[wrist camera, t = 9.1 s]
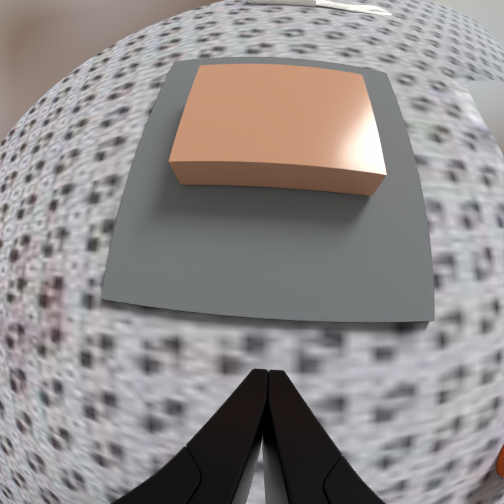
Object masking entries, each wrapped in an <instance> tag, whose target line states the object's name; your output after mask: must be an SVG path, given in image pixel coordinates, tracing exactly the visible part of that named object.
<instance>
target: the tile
mask: <svg viewBox="0 0 504 504" xmlns="http://www.w3.org/2000/svg"><path fill="white" fill-rule="evenodd" d="M169 164H170V165H171V167H172V169H173V171H174V173H175V175H176V177H177V179H178V181H179V183H180V184H181V185H234V186H258V187H276V188H291V189H305V190H317V191H328V192H338V193H348V194H357V195H366V196H373V194H374V193H375V191H376V190H377V188H378V187H379V185H380V184H381V182H382V181H383V180H384V178H385V177H386V175H387V174H386V168H385V163H384V158H383V153H382V148H381V143H380V139H379V134H378V130H377V126H376V122H375V118H374V114H373V110H372V106H371V103H370V99H369V96H368V92H367V89H366V85H365V82H364V79H363V76H362V74H356V73H351V72H345V71H338V70H331V69H324V68H315V67H306V66H294V65H278V64H217V65H201V66H199V69H198V72H197V74H196V77H195V80H194V82H193V85H192V88H191V91H190V94H189V97H188V99H187V102H186V105H185V108H184V111H183V114H182V118H181V121H180V124H179V127H178V130H177V134H176V137H175V140H174V144H173V147H172V151H171V154H170V158H169Z"/></svg>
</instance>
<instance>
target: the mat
mask: <svg viewBox="0 0 504 504" xmlns="http://www.w3.org/2000/svg"><path fill="white" fill-rule="evenodd" d="M217 64H278V65H294V66H306V67H315V68H324V69H331V70H338V71H345V72H351V73H356V74H362V76H363V79H364V82H365V85H366V89H367V92H368V96H369V99H370V103H371V106H372V110H373V114H374V118H375V122H376V126H377V130H378V134H379V139H380V143H381V148H382V153H383V158H384V163H385V168H386V174H387V175H386V177H385V178H384V180H383V181H382V182H381V184H380V185H379V187H378V188H377V190H376V191H375V193H374V194H373V196H366V195H357V194H348V193H338V192H328V191H317V190H305V189H291V188H276V187H258V186H234V185H181V184H180V183H179V181H178V179H177V177H176V175H175V173H174V171H173V169H172V167H171V165H170V164H169V158H170V154H171V151H172V147H173V144H174V140H175V137H176V134H177V130H178V127H179V124H180V121H181V118H182V114H183V111H184V108H185V105H186V102H187V99H188V97H189V94H190V91H191V88H192V85H193V82H194V80H195V77H196V74H197V72H198V69H199V66H201V65H217ZM101 299H104V300H108V301H114V302H120V303H127V304H133V305H140V306H147V307H154V308H161V309H169V310H177V311H185V312H194V313H203V314H213V315H223V316H234V317H246V318H259V319H274V320H292V321H314V322H356V323H386V322H426V321H434V281H433V266H432V255H431V245H430V237H429V229H428V222H427V216H426V209H425V204H424V198H423V193H422V188H421V183H420V179H419V174H418V170H417V166H416V162H415V158H414V154H413V150H412V146H411V143H410V139H409V136H408V132H407V129H406V126H405V123H404V120H403V117H402V114H401V111H400V108H399V105H398V102H397V99H396V97H395V94H394V91H393V89H392V86H391V84H390V81H389V79H388V76H387V74H386V73H384V72H380V71H375V70H371V69H366V68H361V67H355V66H350V65H344V64H338V63H331V62H323V61H315V60H305V59H293V58H277V57H221V58H205V59H193V60H183V61H175V62H174V63H173V65H172V67H171V70H170V72H169V74H168V76H167V78H166V80H165V82H164V84H163V87H162V89H161V91H160V93H159V95H158V98H157V100H156V102H155V105H154V107H153V110H152V112H151V114H150V117H149V119H148V122H147V125H146V127H145V130H144V132H143V135H142V138H141V141H140V143H139V146H138V149H137V152H136V155H135V158H134V161H133V164H132V167H131V170H130V173H129V176H128V180H127V183H126V186H125V190H124V193H123V197H122V200H121V204H120V208H119V212H118V216H117V220H116V224H115V228H114V232H113V237H112V241H111V246H110V250H109V255H108V261H107V266H106V271H105V277H104V283H103V289H102V296H101Z"/></svg>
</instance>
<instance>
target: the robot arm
mask: <svg viewBox="0 0 504 504" xmlns="http://www.w3.org/2000/svg"><path fill="white" fill-rule="evenodd" d="M262 435H263V439H262ZM261 443H262V449H263V466H264V482H265V499H266V504H386V503H384V502H383V501H382V500H381V499H380V498H379V497H378V496H377V495H376V494H375V493H374V492H373V491H372V490H371V489H370V488H369V487H368V486H367V485H366V484H365V483H364V482H363V481H362V479H361V478H360V477H359V476H358V474H357V473H356V472H355V471H354V469H353V468H352V467H351V466H350V464H349V463H348V462H347V460H346V459H345V457H344V456H341V455H342V454H341V452H340V451H339V449H338V448H337V447H336V445H335V444H334V442H333V441H332V440H331V438H330V437H329V435H328V434H327V433H326V431H325V430H324V428H323V427H322V426H321V424H320V423H319V421H318V420H317V418H316V417H315V416H314V414H313V413H312V411H311V410H310V408H309V407H308V405H307V404H306V402H305V401H304V400H303V398H302V397H301V395H300V394H299V392H298V391H297V389H296V388H295V386H294V385H293V383H292V382H291V380H290V379H289V377H288V376H287V374H286V373H285V372H284V371H283V370H269V372H268V370H266V369H253V370H252V371H251V372H250V373H249V374H248V375H247V377H246V378H245V379H244V380H243V381H242V383H241V384H240V385H239V386H238V387H237V389H236V390H235V391H234V392H233V393H232V394H231V396H230V397H229V398H228V399H227V400H226V401H225V403H224V404H223V405H222V406H221V407H220V408H219V409H218V411H217V412H216V413H215V414H214V415H213V416H212V417H211V418H210V419H209V421H208V422H207V423H206V424H205V425H204V426H203V427H202V428H201V429H200V430H199V431H198V433H197V434H196V435H195V436H194V437H193V438H192V439H191V440H190V441H189V442H188V443H187V444H186V447H183V448H182V449H181V450H180V451H179V452H178V453H177V454H176V455H175V456H174V457H173V458H172V459H171V460H170V461H169V462H168V463H167V464H166V465H165V466H164V467H162V468H161V469H160V470H159V471H158V472H156V473H155V474H154V475H152V476H151V477H150V478H148V479H147V480H146V481H144V482H143V483H142V484H140V485H139V486H137V487H136V488H134V489H133V490H131V491H130V492H128V493H127V494H125V495H124V496H122V497H120V498H119V499H117V500H116V501H114V502H112V503H111V504H246V501H247V498H248V494H249V490H250V487H251V483H252V479H253V475H254V472H255V468H256V464H257V460H258V456H259V452H260V448H261Z"/></svg>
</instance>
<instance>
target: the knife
mask: <svg viewBox="0 0 504 504" xmlns="http://www.w3.org/2000/svg"><path fill="white" fill-rule="evenodd" d="M247 2H248V3H254V4H288V5H303V6H313V7H316V5H318V6H325V7H331V8H337V9H343V10H347V11H351V12H362V13H372V14H379V15H392V14H390V13H389V12H388V11H386V10H384V9H382V8H379V7H377V6H370V5H349V4H341V3H335V2H330V1H326V0H247ZM371 10H372V11H371ZM375 10H377V11H380V12H377V11H375ZM382 11H383V12H382ZM384 12H385V13H384ZM387 12H388V13H387Z"/></svg>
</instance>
